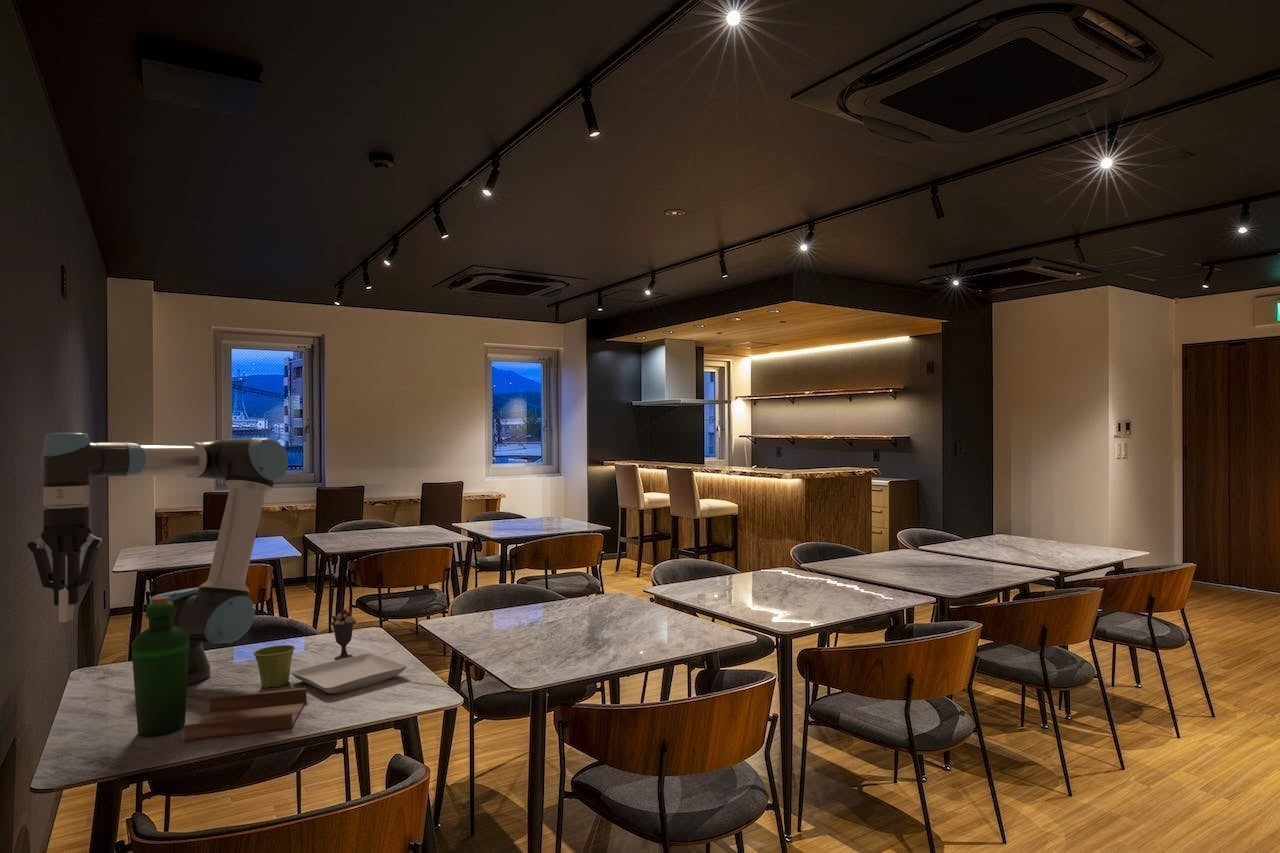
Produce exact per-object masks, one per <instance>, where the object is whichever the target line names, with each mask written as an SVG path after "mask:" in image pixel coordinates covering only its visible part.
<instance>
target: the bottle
mask: <svg viewBox="0 0 1280 853" xmlns="http://www.w3.org/2000/svg"><path fill="white" fill-rule="evenodd" d="M151 598H152V597H151ZM173 614H175V609H174V605H173V602H169V596H162V597H155V598H152V604H150V603H149V604H147V607H146V612H145V618H148V626H149V625H150V628H149V627H148V628H146V629H145V630H143V631H142V632H141V633H139V634H138V635H136V637H134V640H133V641H132V642H131V646H130V647H131V658H132V659H131V660H132V670H133V671H132V672H133V673H132V674H133V686H134V698H135V699H134V700H135V714H136V724H137V734H138V735H141V736H145V737H158V736H162V735H167V734H170V733H173V732H176V731H177V730H179V729H180V728H182V727H183V726H185V725H186V713H187V711H186V710H187V694H188V693H187V692H188V690H187V689H188V685H187V677H188V659H189V640H190V638H189V635H188V634H187V633H186V632H185V631H184V629H182V628H179V627H177V626H174V625H172V615H173Z"/></svg>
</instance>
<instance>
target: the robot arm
mask: <svg viewBox="0 0 1280 853" xmlns="http://www.w3.org/2000/svg"><path fill="white" fill-rule="evenodd" d="M42 451H43V452H42V453H41V456H40V459H39V460H40V461H39V462H40V464H39V465H40V467H41V469H42V470H43V496H42V497H43V499H42V500H43V506H44V507H46V508H45V509H44V510H42V517H43V518H42V525H43V530H42V532H41V533H40V537H39V538H36V539H35V540H34V541H30V542H28V543H27V545H26V546H27V548H28V549H29V550H30V551H31V553H32V554H33V558H34V561H35V564H36V568H37V572H38V576H39V579H40V583H41V586H42V587H43V588H45V589H46V588H49V589H51V590H53V605H54V606H58V623H63V622H64V623H66V622H69V621H71V620H74V616H75V615H74V612H75V608H74V607H75V604H78V602H79V599H80V598H79V595H80V593H79V591H80V590H79V589H80V587H81V586H84V585H86V584H89V583H90V581H91V577H92V574H93V571H94V567H95V562H96V560H97V556H98V552H99V549H100V547H102V545H103V544H104V542H105V539H104V538H103V537H97V536H96V535H93V534H92V530H91V529H90V526H89V525H90V507H88V506H87V505H88V504H89V503H90V478H96V477H127V476H156V475H158V476H162V475H163V476H165V475H166V476H170V475H184V476H186V477H187V478H189V479H191V478H192V479H193V478H195V479H197V478H200V479H201V478H202V479H213V480H220V481H224V484H225V485H226V486H227V488H228V489H229V491H228V495H227V499H226V503H225V508H224V512H223V516H222V520H221V524H220V527H219V533H218V536H217V537H218V538H217V540H216V544H215V547H214V548H215V549H214V554H213V557H212V561H211V565H210V570H209V574H208V577H207V580H206V581H205V582H203V583H202V584H200V585H199V586H198V587H192V588H184V589H179V590H174V591H173V590H172V591H168V592H163V593H159V594H155V595H153V596H152V597H151V598H150V600H149V604H152V598H155V597H162V596H169V602H173V605H174V609H175V614H173V615H172V625H174V626H177V627H179V628H182V629H184V631H185V632H186V633H187V634H188V635H189V638H190V640H189V659H188V677H187V686H189V685H192V684H195V683H198V682H201V681H203V680H205V679H207V678H209V677H210V676H211V664H210V661H209V659H208V657H207V654H206V652H205V649H204V647H203V643H211V644H217V645H218V644H223V643H224V644H227V643H228V644H229V643H233V642H236V641H238V640H240V639H241V638H242V637H243V636H244V635H246V633H248V631H249V630H250V629H251V627H252V625H253V623H254V620H255V616H256V608H255V606H254V602H253V601H252V600H251V599H250V598H249V596H250V588H248V587H247V585H246V581H247V575H248V571H249V566H250V563H251V560H252V559H251V557H252V555H253V548H254V545H255V540H256V537H257V536H256V535H257V531H258V528H259V523H260V518H261V513H262V509H263V506H264V505H263V504H264V501H265V496H266V495H267V494H268V493H270V492H271V491H273V489H274V484H275V481H278V480H280V479H281V478H282V477H283V476H285V474H286V472H287V470H288V466H289V463H288V462H289V458H288V455H287V452H286V451H285V448H284V446H283V445H282V444H281V443H280V442H279V441H278V440H276V439H273V438H271V437H261V436H256V437H247V438H246V437H245V438H242V437H241V438H240V437H239V438H223V439H217V440H209V441H199V442H196V441H193V442H188V443H187V444H185V445H165V444H164V445H162V444H161V445H160V444H159V445H153V444H151V445H149V444H147V445H146V444H141V445H140V444H138V443H136V442H127V441H123V442H122V441H121V442H120V441H119V442H92V441H91V440H90V436H89V434H88V433H85V432H51V433H49V434H46V435H45V437H44V441H43V448H42ZM86 542H87V543H86ZM85 544H86V545H87V546H88V547H87V548H86V551H85V555H84V558H83V562H82V566H81V561H80V560H81V559H80V558H81V553H82V547H83V546H84V545H85ZM46 546H48V548H49V549H50V550H51V558H52V566H51V562H50V560H49V557H48V556H49V555H48V552H47V550H46ZM66 557H67V560H66ZM66 561H67V562H66ZM66 563H67V564H66ZM66 565H67V567H66ZM66 570H67V576H66ZM66 577H67V579H66ZM66 583H67V584H66ZM149 628H150V625H149V624H148V629H149Z"/></svg>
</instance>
